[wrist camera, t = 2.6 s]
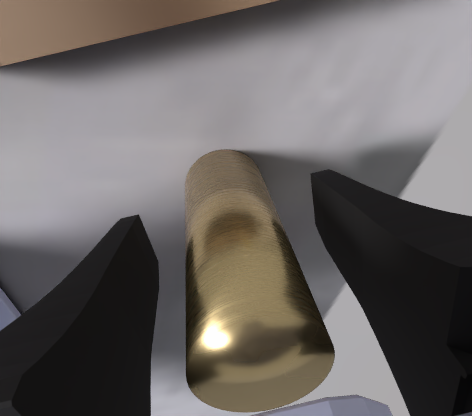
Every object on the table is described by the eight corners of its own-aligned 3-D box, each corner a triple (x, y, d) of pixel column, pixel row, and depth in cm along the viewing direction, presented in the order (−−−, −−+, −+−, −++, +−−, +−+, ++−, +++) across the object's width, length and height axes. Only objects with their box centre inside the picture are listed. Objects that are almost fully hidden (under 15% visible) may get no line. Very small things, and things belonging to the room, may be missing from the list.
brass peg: (196, 225, 15) (206, 425, 8) (175, 160, 13) (166, 338, 6) (267, 208, 15) (338, 393, 8) (255, 141, 13) (330, 300, 6)
